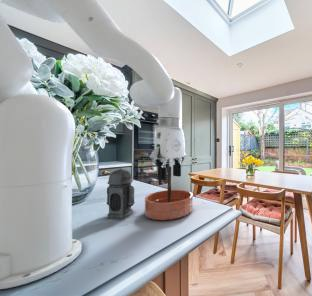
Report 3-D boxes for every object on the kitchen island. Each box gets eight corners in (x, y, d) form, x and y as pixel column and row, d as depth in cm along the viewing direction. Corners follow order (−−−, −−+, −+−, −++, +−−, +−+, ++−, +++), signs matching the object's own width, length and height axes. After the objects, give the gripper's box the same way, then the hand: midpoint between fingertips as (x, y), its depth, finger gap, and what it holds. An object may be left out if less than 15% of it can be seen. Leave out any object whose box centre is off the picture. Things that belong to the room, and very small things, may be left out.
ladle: (169, 214, 54) (169, 167, 53) (157, 211, 56) (157, 166, 56) (180, 208, 58) (180, 165, 58) (169, 206, 61) (169, 164, 60)
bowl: (170, 226, 47) (170, 206, 47) (134, 215, 54) (134, 198, 54) (200, 208, 61) (201, 193, 61) (169, 201, 67) (169, 188, 67)
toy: (139, 211, 57) (139, 167, 57) (127, 219, 51) (127, 170, 51) (115, 210, 58) (115, 167, 57) (101, 217, 52) (101, 169, 52)
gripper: (157, 120, 47) (157, 184, 48) (194, 127, 63) (194, 174, 63) (139, 121, 51) (139, 181, 51) (178, 127, 66) (178, 173, 66)
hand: (169, 177), depth 57 cm, fingers open, 6 cm apart
